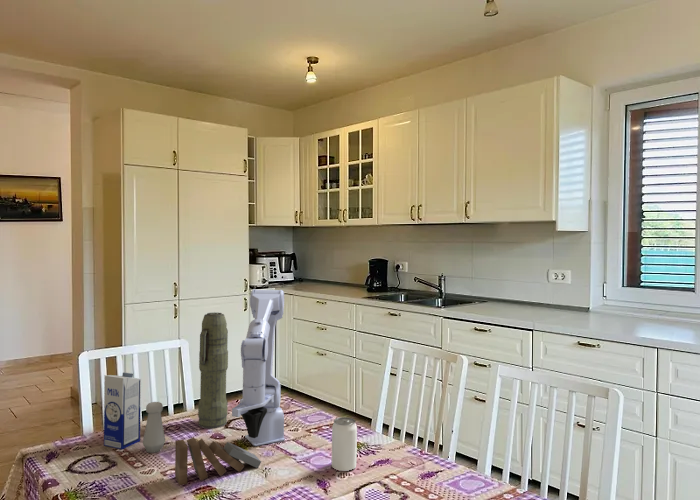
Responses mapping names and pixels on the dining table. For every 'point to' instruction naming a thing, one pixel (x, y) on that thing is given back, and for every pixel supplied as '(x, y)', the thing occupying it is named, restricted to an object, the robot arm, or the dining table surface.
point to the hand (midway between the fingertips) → (253, 436)
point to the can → (344, 444)
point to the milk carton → (121, 410)
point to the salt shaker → (154, 428)
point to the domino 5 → (242, 454)
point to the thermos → (213, 371)
